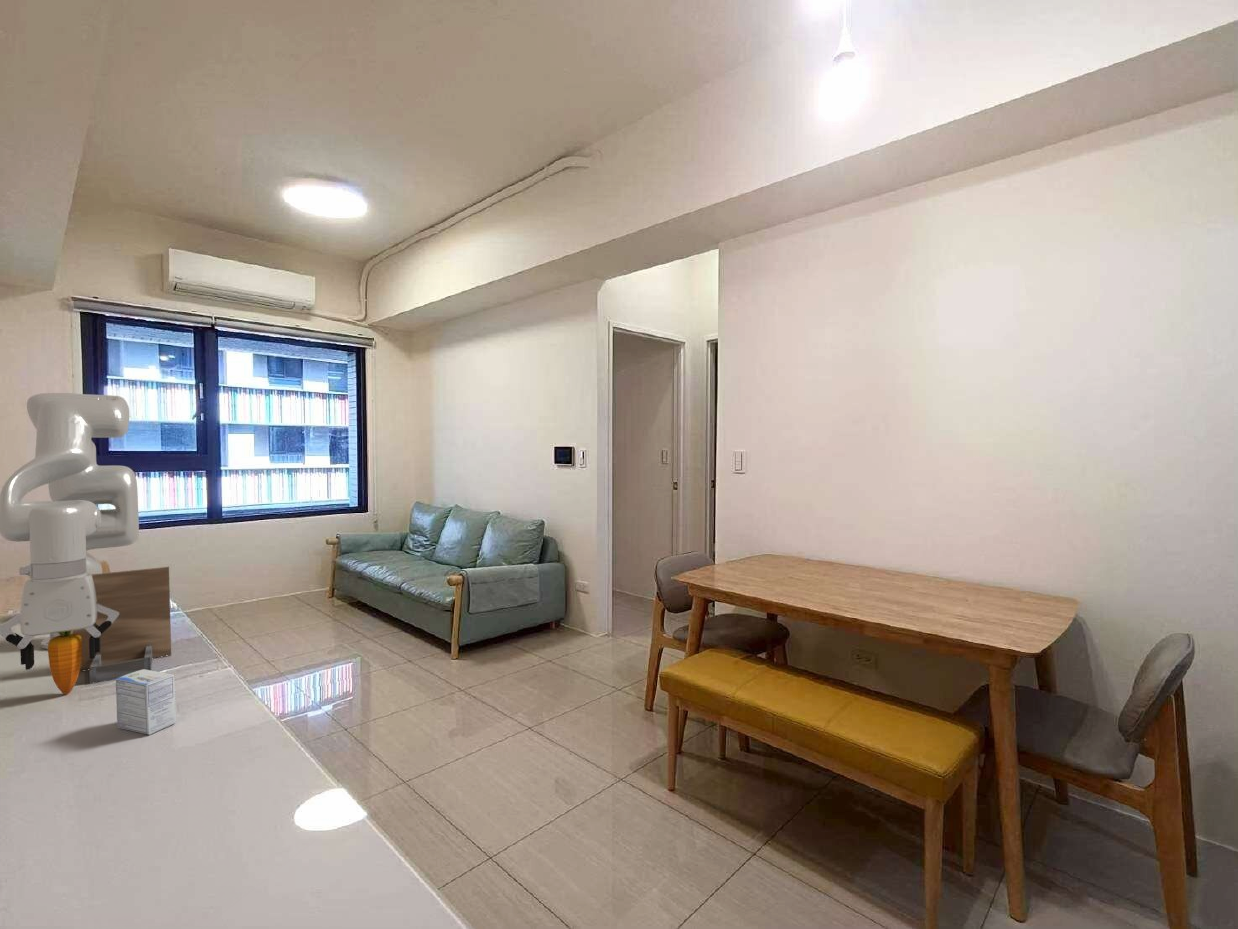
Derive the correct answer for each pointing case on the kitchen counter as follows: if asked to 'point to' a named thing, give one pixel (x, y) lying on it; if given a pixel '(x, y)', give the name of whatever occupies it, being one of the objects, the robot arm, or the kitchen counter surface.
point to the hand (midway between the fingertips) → (62, 661)
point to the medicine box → (145, 701)
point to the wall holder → (130, 623)
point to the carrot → (65, 660)
